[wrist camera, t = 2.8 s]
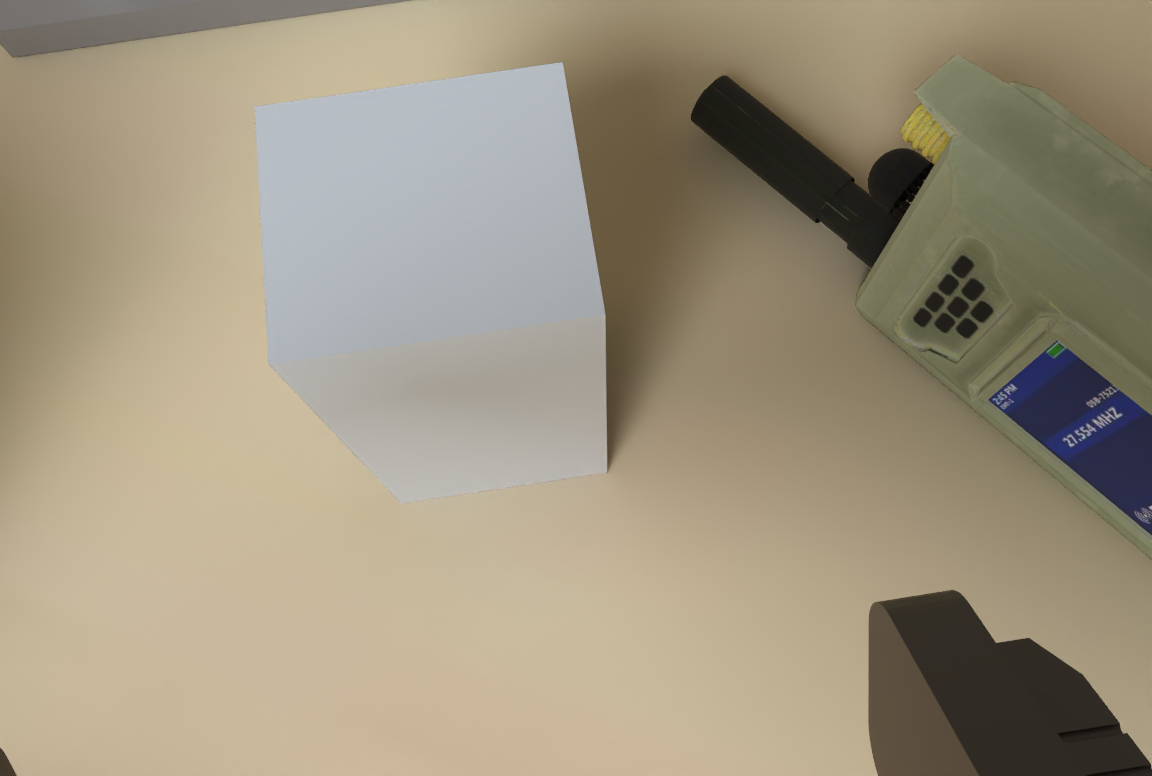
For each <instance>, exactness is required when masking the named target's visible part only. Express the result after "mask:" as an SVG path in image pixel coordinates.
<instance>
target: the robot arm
mask: <svg viewBox="0 0 1152 776" xmlns="http://www.w3.org/2000/svg"><path fill="white" fill-rule="evenodd" d="M869 735H870V742H871V748H872V753H873V758H874V762H875V766H876V770H877V773H878V776H1152V769H1151V764H1150V762H1149V761H1148V760H1147V758H1146V757H1145V756H1144V755H1143V753H1142V752H1141V751H1140V749H1139V748H1138V747H1137V745H1136V744H1135V743H1134V741H1133V740H1132V739H1131V737H1130V736H1129V735H1128V734H1127V733H1125V734H1123V733H1122V731H1121V729H1120V723H1119V722H1118V720H1117V719H1116V718H1115V716H1114V715H1113V714H1112V713H1111V711H1110V710H1109V709H1108V707H1107V706H1106V705H1105V703H1104V702H1103V701H1102V699H1101V698H1100V697H1099V695H1098V694H1097V693H1096V692H1095V690H1094V689H1093V688H1092V686H1091V685H1090V684H1089V682H1088V681H1087V680H1086V678H1085V677H1084V676H1083V675H1082V674H1081V673H1079V672H1078V671H1076V670H1075V669H1073V668H1072V667H1071V666H1069V665H1068V664H1066V663H1065V662H1063V661H1062V660H1060V659H1059V658H1057V657H1056V656H1054V655H1053V654H1052V653H1050V652H1049V651H1047V650H1046V649H1044V648H1043V647H1041V646H1040V645H1038V644H1037V643H1035V642H1034V641H1033V640H1031V639H1030V638H1026V639H1019V640H1013V641H1007V642H1001V643H996V642H995V641H994V640H993V638H992V637H991V635H990V634H989V632H988V631H987V629H986V628H985V626H984V625H983V623H982V622H981V620H980V619H979V617H978V616H977V615H976V613H975V612H974V610H973V609H972V607H971V606H970V604H969V603H968V601H967V600H966V599H965V598H964V596H963V595H961V594H960V593H959V592H957V591H955V590H950V591H943V592H937V593H931V594H924V595H918V596H912V597H905V598H899V599H893V600H886V601H880V602H875V603H873V605H872V606H871V609H870V614H869ZM0 776H17V775H16V774H15V772H14V770H13V768H12V766H11V764H10V762H9V760H8V758H7V756H6V755H5V753H4V752H3V750H2V749H1V748H0Z"/></svg>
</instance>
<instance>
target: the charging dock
mask: <svg viewBox="0 0 1152 776" xmlns="http://www.w3.org/2000/svg"><path fill="white" fill-rule="evenodd" d="M402 1H408V0H0V44H1V45H2V46H3V47H4V48H5V50H6V51H7V52H8V53H9V54H10V55H11V56H12V57H20V56H26V55H33V54H40V53H47V52H54V51H61V50H68V49H75V48H82V47H89V46H96V45H103V44H110V43H117V42H124V41H131V40H138V39H145V38H151V37H158V36H165V35H172V34H179V33H186V32H193V31H200V30H207V29H214V28H221V27H228V26H235V25H242V24H249V23H256V22H263V21H270V20H277V19H283V18H290V17H297V16H304V15H311V14H318V13H325V12H332V11H339V10H346V9H353V8H360V7H367V6H374V5H381V4H388V3H395V2H402Z"/></svg>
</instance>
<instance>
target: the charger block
mask: <svg viewBox="0 0 1152 776" xmlns="http://www.w3.org/2000/svg"><path fill="white" fill-rule="evenodd" d="M255 125H256V143H257V161H258V179H259V197H260V215H261V233H262V251H263V269H264V287H265V305H266V323H267V341H268V359H269V365H270V367H271V368H272V369H273V370H274V371H275V372H276V373H277V374H278V375H279V376H280V377H281V378H282V379H283V380H284V381H285V382H286V383H287V384H288V385H289V386H290V388H291V389H292V390H293V391H294V392H295V393H296V394H297V395H298V396H299V397H300V398H301V399H302V400H303V401H304V402H305V403H306V404H307V405H308V406H309V407H310V409H311V410H312V411H313V412H314V413H315V414H316V415H317V416H318V417H319V418H320V419H321V420H322V421H323V422H324V423H325V424H326V425H327V426H328V427H329V429H330V430H331V431H332V432H333V433H334V434H335V435H336V436H337V437H338V438H339V439H340V440H341V441H342V442H343V443H344V444H345V445H346V446H347V447H348V448H349V450H350V451H351V452H352V453H353V454H354V455H355V456H356V457H357V458H358V459H359V460H360V461H361V462H362V463H363V464H364V465H365V466H366V467H367V468H368V469H369V471H370V472H371V473H372V474H373V475H374V476H375V477H376V478H377V479H378V480H379V481H380V482H381V483H382V484H383V485H384V486H385V487H386V488H387V489H388V491H389V492H390V493H391V494H392V495H393V496H394V497H395V498H396V499H397V500H398V501H399V502H400V503H401V504H405V503H411V502H418V501H424V500H431V499H438V498H444V497H451V496H457V495H464V494H470V493H477V492H484V491H490V490H497V489H503V488H510V487H517V486H523V485H530V484H536V483H543V482H550V481H556V480H563V479H569V478H576V477H582V476H589V475H596V474H602V473H607V406H606V317H605V309H604V303H603V297H602V291H601V285H600V279H599V273H598V267H597V262H596V256H595V250H594V244H593V238H592V232H591V226H590V220H589V214H588V208H587V203H586V197H585V191H584V185H583V179H582V173H581V167H580V161H579V155H578V149H577V144H576V138H575V132H574V126H573V120H572V114H571V108H570V102H569V96H568V90H567V85H566V79H565V73H564V67H563V62H560V63H553V64H546V65H539V66H532V67H525V68H518V69H512V70H505V71H498V72H491V73H484V74H477V75H470V76H463V77H456V78H450V79H443V80H436V81H429V82H422V83H415V84H408V85H401V86H394V87H388V88H381V89H374V90H367V91H360V92H353V93H346V94H339V95H333V96H326V97H319V98H312V99H305V100H298V101H291V102H284V103H277V104H271V105H264V106H257V107H255Z"/></svg>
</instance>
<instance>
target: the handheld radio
mask: <svg viewBox="0 0 1152 776" xmlns="http://www.w3.org/2000/svg"><path fill="white" fill-rule="evenodd" d="M913 93H914V94H915V95H916V96H917V98H918V99H919V101H920V102H921V104H920V105H919V106H918V107H917V108H916V109H915V110H914V112H913V113H912V114H911V115H910V117H909V118H908V119H907V121H906V122H905V124H904V125H903V127H902V129H901V131H900V133H901V134H902V135H903V137H902V139H903V141H905V142H910V141H911V142H912V148H914V149H915V150H919V149H921V150H922V155H923V156H924V157H925V158H926V157H929V156H930V157H931V158H932V162H931V163H930V162H929V161H928V160H926V159H925V158H924V157H923V156H921V155H920V154H919V153H917V152H915V151H914V150H910V149H902V148H900V149H895V150H892V151H890V152H888V153H885V154H884V155H883V156H881V157H880V158H879V159H878V160H877V161H876V162H875V164H874V165H873V167H872V169H871V171H870V174H869V178H868V188H869V192H870V194H871V196H872V197H871V196H870V195H869V194H868V193H866V192H865V191H864V190H863V189H861V188H860V187H859V186H858V185H856V184H855V183H854V180H855V179H854V178H853V177H852V176H851V175H849V174H848V173H847V172H846V171H844V170H843V169H842V168H841V167H839V166H838V165H837V164H836V163H834V162H833V161H832V160H831V159H829V158H828V157H827V156H826V155H824V154H823V153H822V152H821V151H820V150H818V149H817V148H816V147H815V146H813V145H812V144H811V143H810V142H808V141H807V140H806V139H805V138H803V137H802V136H801V135H800V134H798V133H797V132H796V131H795V130H793V129H792V128H791V127H790V126H788V125H787V124H786V123H785V122H784V121H782V120H781V119H780V118H779V117H777V116H776V115H775V114H774V113H772V112H771V111H770V110H769V109H767V108H766V107H765V106H764V105H762V104H761V103H760V102H759V101H757V100H756V99H755V98H754V97H753V96H751V95H750V94H749V93H748V92H746V91H745V90H744V89H743V88H741V87H740V86H739V85H738V84H736V83H735V82H734V81H733V80H731V79H730V78H729V77H728V76H721V77H720V78H718V79H717V80H715V81H714V82H713V83H712V84H711V85H710V86H709V87H708V88H707V89H705V90H704V91H703V93H702V94H701V96H700V97H699V99H698V101H697V103H696V105H695V107H694V109H693V111H692V114H691V120H692V122H694V123H695V124H696V125H697V126H698V127H700V128H701V129H702V130H703V131H705V132H706V133H707V134H708V135H709V136H711V137H712V138H713V139H714V140H716V141H717V142H718V143H719V144H720V145H722V146H723V147H724V148H725V149H726V150H728V151H729V152H730V153H731V154H733V155H734V156H735V157H736V158H737V159H739V160H740V161H741V162H742V163H744V164H745V165H746V166H747V167H748V168H750V169H751V170H752V171H753V172H755V173H756V174H757V175H758V176H759V177H761V178H762V179H763V180H764V181H766V182H767V183H768V184H769V185H770V186H772V187H773V188H774V189H775V190H777V191H778V192H779V193H780V194H781V195H783V196H784V197H785V198H786V199H788V200H789V201H790V202H791V203H792V204H794V205H795V206H796V207H797V208H799V209H800V210H801V211H802V212H803V213H805V214H806V215H807V216H808V217H810V218H811V219H812V220H813V221H814V222H816V223H819V222H820V221H821V222H822V223H823V224H825V225H826V226H827V227H828V228H829V229H831V230H832V231H833V232H834V233H836V234H837V235H838V236H839V237H840V238H842V239H843V240H844V241H845V242H847V243H848V245H847V249H849V250H850V251H851V252H852V253H853V254H855V255H856V256H857V257H858V258H860V259H861V260H862V261H863V262H864V263H866V264H867V265H868V266H869V267H871V268H872V269H871V271H870V272H869V274H868V276H867V277H866V279H865V281H864V282H863V284H862V286H861V287H860V289H859V291H858V292H857V295H856V304H855V306H856V307H857V309H858V310H859V312H860V314H861V315H862V316H863V317H864V318H866V319H867V320H868V321H869V322H870V323H871V324H873V325H874V326H875V327H876V328H877V329H879V330H880V331H881V332H882V333H883V334H885V335H886V336H887V337H888V338H889V339H890V340H892V341H893V342H894V343H895V344H896V345H898V346H899V347H900V348H901V349H902V350H904V351H905V352H906V353H907V354H908V355H909V356H911V357H912V358H913V359H914V360H915V361H917V362H918V363H919V364H920V365H921V366H923V367H924V368H925V369H926V370H927V371H929V372H930V373H931V374H932V375H933V376H934V377H936V378H937V379H938V380H939V381H940V382H942V383H943V384H944V385H945V386H946V387H948V388H949V389H950V390H951V391H952V392H953V393H955V394H956V395H957V396H958V397H959V398H961V399H962V400H963V401H964V402H965V403H967V404H968V405H969V406H970V407H971V408H972V409H974V410H975V411H976V412H977V413H978V414H980V415H981V416H982V417H983V418H984V419H986V420H987V421H988V422H989V423H990V424H991V425H993V426H994V427H995V428H996V429H997V430H999V431H1000V432H1001V433H1002V434H1003V435H1005V436H1006V437H1007V438H1008V439H1009V440H1011V441H1012V442H1013V443H1014V444H1015V445H1016V446H1018V447H1019V448H1020V449H1021V450H1022V451H1024V452H1025V453H1026V454H1027V455H1028V456H1030V457H1031V458H1032V459H1033V460H1034V461H1035V462H1037V463H1038V464H1039V465H1040V466H1041V467H1043V468H1044V469H1045V470H1046V471H1047V472H1049V473H1050V474H1051V475H1052V476H1053V477H1054V478H1056V479H1057V480H1058V481H1059V482H1060V483H1062V484H1063V485H1064V486H1065V487H1066V488H1068V489H1069V490H1070V491H1071V492H1072V493H1073V494H1075V495H1076V496H1077V497H1078V498H1079V499H1081V500H1082V501H1083V502H1084V503H1085V504H1087V505H1088V506H1089V507H1090V508H1091V509H1093V510H1094V511H1095V512H1096V513H1097V514H1098V515H1100V516H1101V517H1102V518H1103V519H1104V520H1106V521H1107V522H1108V523H1109V524H1110V525H1112V526H1113V527H1114V528H1115V529H1116V530H1117V531H1119V532H1120V533H1121V534H1122V535H1123V536H1125V537H1126V538H1127V539H1128V540H1129V541H1131V542H1132V543H1133V544H1134V545H1135V546H1136V547H1138V548H1139V549H1140V550H1141V551H1142V552H1144V553H1145V554H1146V555H1147V556H1148V557H1150V558H1151V559H1152V170H1150V169H1149V168H1147V167H1146V166H1145V165H1143V164H1142V163H1141V162H1139V161H1138V160H1136V159H1135V158H1134V157H1132V156H1131V155H1130V154H1128V153H1127V152H1125V151H1124V150H1123V149H1121V148H1120V147H1119V146H1117V145H1116V144H1114V143H1113V142H1112V141H1110V140H1109V139H1108V138H1106V137H1105V136H1103V135H1102V134H1101V133H1099V132H1098V131H1097V130H1095V129H1094V128H1092V127H1091V126H1090V125H1088V124H1087V123H1086V122H1084V121H1083V120H1081V119H1080V118H1079V117H1077V116H1076V115H1075V114H1073V113H1072V112H1070V111H1069V110H1068V109H1066V108H1065V107H1064V106H1062V105H1061V104H1060V103H1058V102H1057V101H1055V100H1054V99H1053V98H1051V97H1050V96H1049V95H1047V94H1046V93H1044V92H1043V91H1042V90H1040V89H1037V88H1034V87H1031V86H1028V85H1025V84H1021V83H1018V82H1011V83H1010V84H1007V83H1005V82H1004V81H1002V80H1000V79H999V78H997V77H995V76H994V75H992V74H990V73H989V72H987V71H985V70H984V69H982V68H980V67H978V66H977V65H975V64H973V63H972V62H970V61H968V60H966V59H964V58H963V57H961V56H959V55H957V54H956V55H954V56H953V57H952V58H951V59H950V60H948V61H947V62H946V63H945V64H944V65H942V66H941V67H940V68H939V69H938V70H937V71H936V72H935V73H933V74H932V75H931V76H930V77H929V78H928V79H927V80H925V81H924V82H923V83H922V84H921V85H920V86H919V87H918V88H917V89H916V90H915V91H913ZM932 167H933V168H932ZM930 170H931V172H930ZM923 180H925V182H924V181H923ZM918 187H919V188H918ZM914 195H916V196H914ZM907 199H908V202H912V203H911V205H910V204H909V203H908V202H905V201H906V200H907ZM901 206H902V207H903V208H902V207H901ZM905 209H906V210H907V211H906V210H905Z"/></svg>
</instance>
